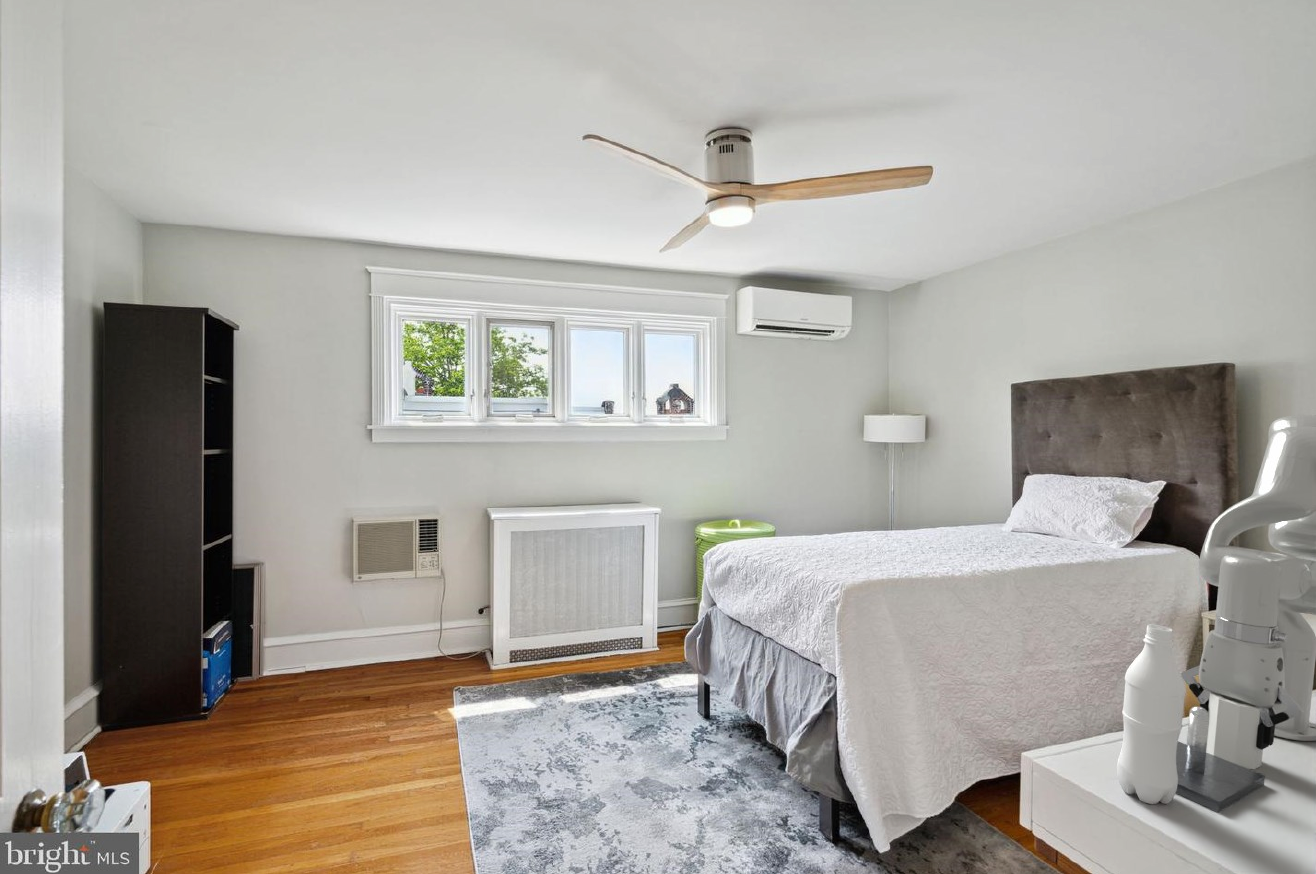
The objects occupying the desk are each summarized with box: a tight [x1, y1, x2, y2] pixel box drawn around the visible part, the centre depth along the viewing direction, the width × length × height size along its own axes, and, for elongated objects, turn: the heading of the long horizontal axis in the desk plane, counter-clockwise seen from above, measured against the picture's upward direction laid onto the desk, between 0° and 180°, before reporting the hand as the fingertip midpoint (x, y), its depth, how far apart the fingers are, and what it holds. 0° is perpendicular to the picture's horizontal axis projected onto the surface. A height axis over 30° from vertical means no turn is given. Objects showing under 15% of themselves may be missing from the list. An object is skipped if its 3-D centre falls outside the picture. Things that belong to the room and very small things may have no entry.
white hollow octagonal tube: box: [1206, 692, 1264, 770], centre depth 110 cm, size 7×7×10 cm
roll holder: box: [1175, 705, 1266, 813], centre depth 103 cm, size 16×12×11 cm
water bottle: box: [1116, 623, 1187, 805], centre depth 97 cm, size 7×7×25 cm
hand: (1234, 735), depth 110 cm, fingers closed on white hollow octagonal tube, 6 cm apart
